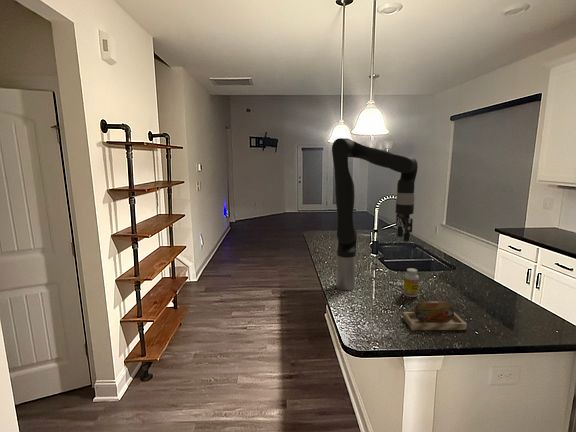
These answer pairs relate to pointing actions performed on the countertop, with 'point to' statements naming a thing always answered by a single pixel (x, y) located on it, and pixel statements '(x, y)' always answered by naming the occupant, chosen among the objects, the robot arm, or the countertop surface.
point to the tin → (434, 312)
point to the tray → (415, 324)
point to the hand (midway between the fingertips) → (402, 238)
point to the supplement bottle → (411, 283)
